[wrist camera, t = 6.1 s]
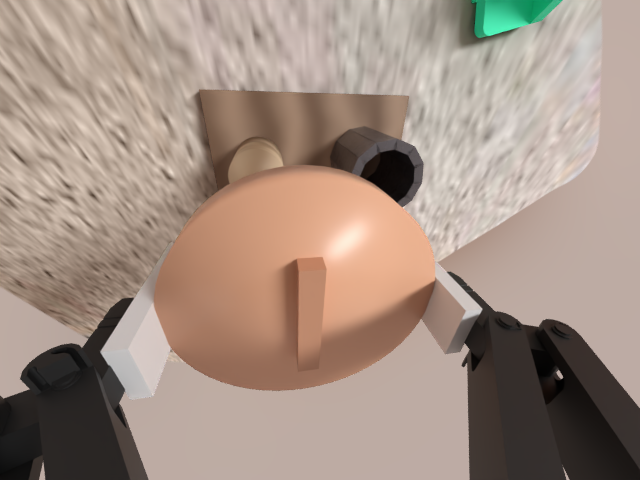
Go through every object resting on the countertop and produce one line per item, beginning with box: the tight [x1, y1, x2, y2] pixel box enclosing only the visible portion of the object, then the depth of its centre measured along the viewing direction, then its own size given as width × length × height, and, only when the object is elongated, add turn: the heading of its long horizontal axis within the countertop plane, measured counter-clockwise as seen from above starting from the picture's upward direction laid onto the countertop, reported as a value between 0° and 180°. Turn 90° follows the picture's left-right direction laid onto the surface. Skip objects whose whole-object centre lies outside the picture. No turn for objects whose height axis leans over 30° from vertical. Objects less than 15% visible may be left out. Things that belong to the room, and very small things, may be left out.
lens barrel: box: [330, 126, 423, 207], centre depth 32 cm, size 8×8×10 cm
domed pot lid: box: [154, 165, 435, 391], centre depth 13 cm, size 12×12×5 cm
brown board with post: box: [199, 90, 409, 191], centre depth 32 cm, size 26×16×10 cm, turn 88°
